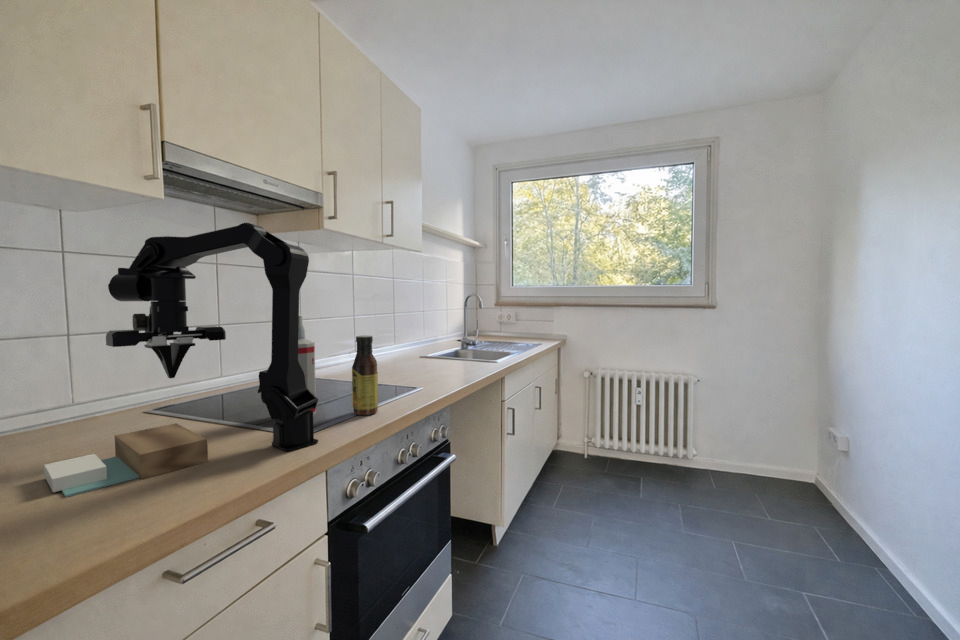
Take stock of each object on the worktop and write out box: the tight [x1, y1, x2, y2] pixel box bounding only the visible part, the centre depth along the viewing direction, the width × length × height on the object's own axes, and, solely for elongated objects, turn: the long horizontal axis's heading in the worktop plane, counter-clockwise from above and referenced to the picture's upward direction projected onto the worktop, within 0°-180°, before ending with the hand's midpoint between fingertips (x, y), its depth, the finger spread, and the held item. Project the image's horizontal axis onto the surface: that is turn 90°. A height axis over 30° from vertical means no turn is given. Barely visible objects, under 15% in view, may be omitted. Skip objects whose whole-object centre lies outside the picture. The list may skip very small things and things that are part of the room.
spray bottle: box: [298, 315, 317, 416], centre depth 104 cm, size 8×8×25 cm
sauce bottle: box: [351, 334, 379, 416], centre depth 105 cm, size 6×6×20 cm
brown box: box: [114, 422, 209, 480], centre depth 75 cm, size 10×16×4 cm, turn 52°
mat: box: [60, 456, 140, 498], centre depth 68 cm, size 9×14×1 cm, turn 52°
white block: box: [43, 453, 107, 493], centre depth 66 cm, size 6×9×2 cm, turn 52°
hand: (171, 378), depth 84 cm, fingers closed
